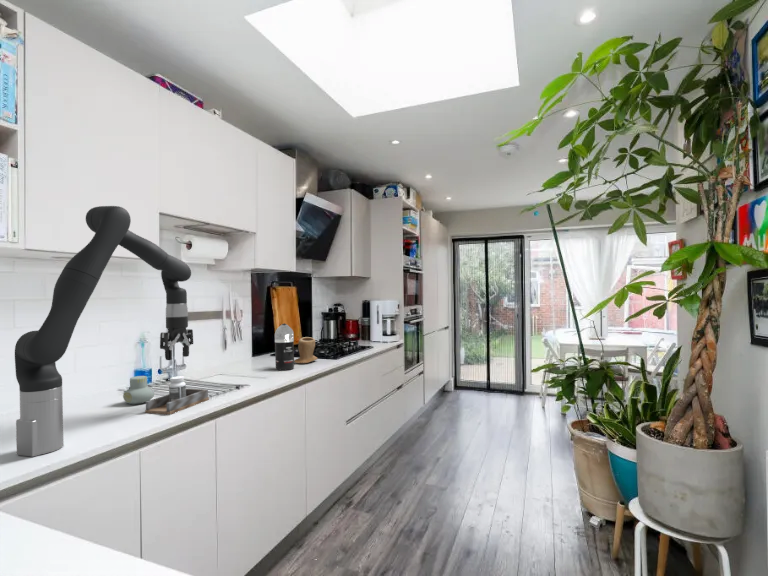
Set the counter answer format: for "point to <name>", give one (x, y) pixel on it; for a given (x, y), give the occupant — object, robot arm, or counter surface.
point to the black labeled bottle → (284, 348)
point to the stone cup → (306, 350)
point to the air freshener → (138, 391)
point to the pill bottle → (177, 388)
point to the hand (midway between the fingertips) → (177, 358)
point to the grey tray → (176, 402)
